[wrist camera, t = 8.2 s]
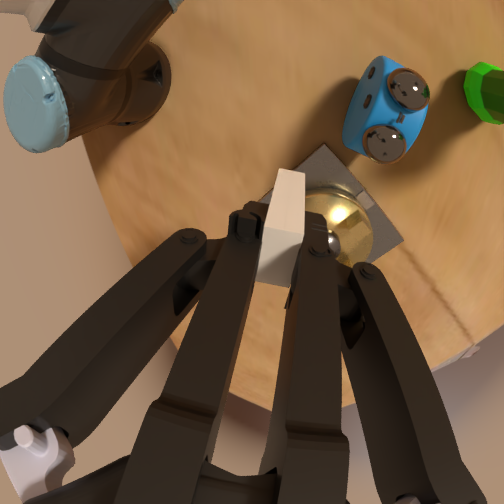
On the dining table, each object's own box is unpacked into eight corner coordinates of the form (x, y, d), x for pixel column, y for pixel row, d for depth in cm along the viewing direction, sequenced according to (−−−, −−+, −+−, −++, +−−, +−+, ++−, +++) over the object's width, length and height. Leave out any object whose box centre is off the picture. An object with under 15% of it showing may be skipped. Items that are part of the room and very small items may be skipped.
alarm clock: (371, 149, 37) (401, 188, 25) (334, 133, 37) (350, 163, 25) (403, 76, 29) (451, 81, 17) (365, 56, 29) (399, 48, 17)
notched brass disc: (317, 283, 52) (317, 308, 47) (256, 228, 48) (249, 250, 42) (387, 237, 44) (395, 260, 39) (328, 167, 39) (332, 183, 34)
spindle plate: (237, 220, 49) (235, 224, 48) (323, 142, 38) (324, 144, 37) (319, 292, 55) (319, 296, 54) (402, 237, 45) (404, 241, 44)
